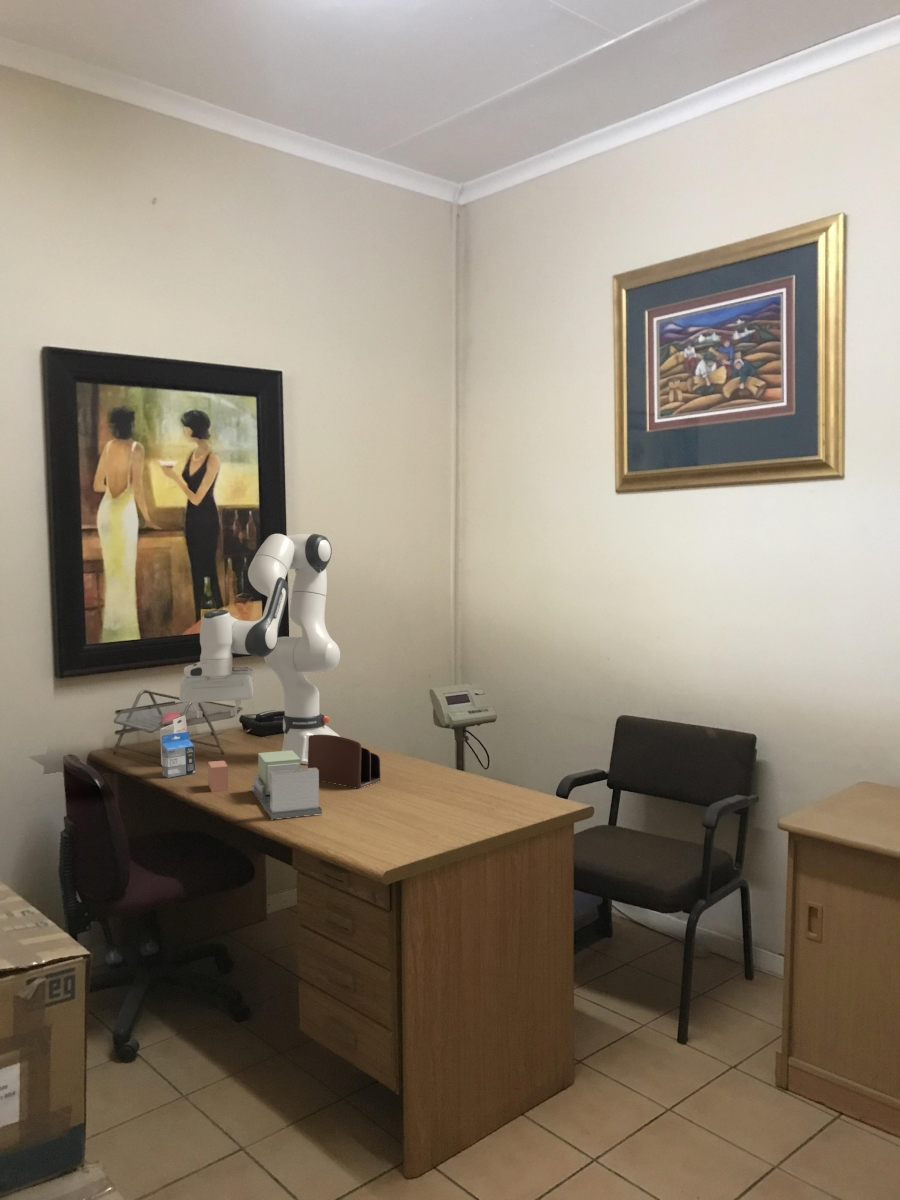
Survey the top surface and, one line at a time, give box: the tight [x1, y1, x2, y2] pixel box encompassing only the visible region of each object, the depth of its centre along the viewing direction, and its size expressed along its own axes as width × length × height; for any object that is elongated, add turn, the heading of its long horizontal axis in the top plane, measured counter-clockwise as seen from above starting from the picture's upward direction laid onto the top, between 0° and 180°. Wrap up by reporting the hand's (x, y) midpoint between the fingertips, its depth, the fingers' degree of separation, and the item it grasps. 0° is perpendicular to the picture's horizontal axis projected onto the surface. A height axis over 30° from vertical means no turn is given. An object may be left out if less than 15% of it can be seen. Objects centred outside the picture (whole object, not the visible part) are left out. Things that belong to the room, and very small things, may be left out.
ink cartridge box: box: [159, 714, 188, 765], centre depth 295 cm, size 9×5×15 cm, turn 168°
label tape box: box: [161, 730, 196, 779], centre depth 282 cm, size 9×4×12 cm, turn 131°
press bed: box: [251, 767, 323, 820], centre depth 254 cm, size 29×13×12 cm, turn 21°
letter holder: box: [307, 735, 381, 789], centre depth 276 cm, size 10×20×14 cm, turn 57°
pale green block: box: [257, 750, 302, 795], centre depth 261 cm, size 12×10×9 cm
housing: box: [207, 760, 229, 793], centre depth 267 cm, size 4×7×7 cm, turn 21°
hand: (216, 716), depth 266 cm, fingers open, 8 cm apart
